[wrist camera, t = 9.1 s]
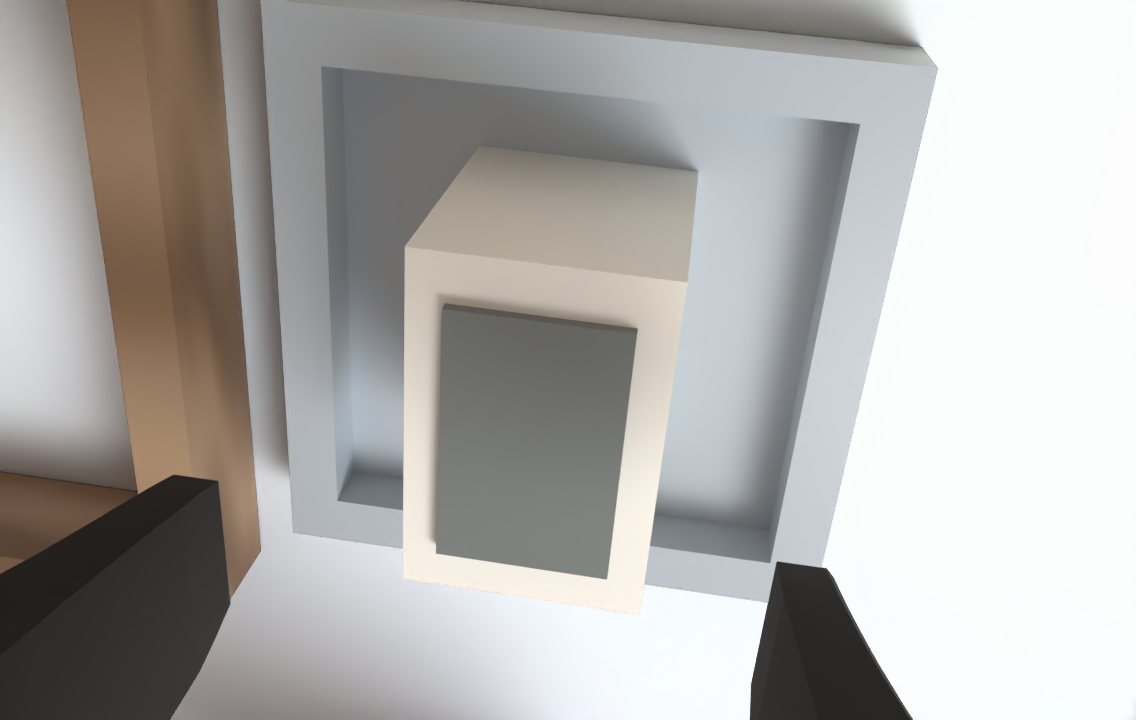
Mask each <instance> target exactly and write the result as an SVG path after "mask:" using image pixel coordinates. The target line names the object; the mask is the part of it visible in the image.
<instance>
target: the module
mask: <svg viewBox="0 0 1136 720" xmlns="http://www.w3.org/2000/svg"><path fill="white" fill-rule="evenodd" d="M697 182H698V172H697V171H688V170H680V169H672V168H663V167H655V166H646V165H638V164H629V163H621V162H613V161H604V160H596V159H587V158H579V157H570V156H562V155H554V154H545V153H537V152H528V151H520V150H511V149H503V148H495V147H486V146H479V147H478V148H477V150H476V151H475V152H474V154H473V155H472V156H471V158H470V159H469V160H468V162H467V163H466V164H465V166H464V167H463V169H462V170H461V171H460V173H459V174H458V175H457V177H456V178H455V179H454V181H453V182H452V183H451V185H450V186H449V187H448V189H447V190H446V192H445V193H444V194H443V196H442V197H441V198H440V200H439V201H438V202H437V204H436V205H435V206H434V208H433V209H432V210H431V212H430V213H429V215H428V216H427V217H426V219H425V220H424V221H423V223H422V224H421V225H420V227H419V228H418V229H417V231H416V232H415V233H414V235H413V236H412V238H411V239H410V240H409V242H408V243H407V244H406V246H405V300H404V465H403V579H408V580H415V581H421V582H428V583H434V584H441V585H447V586H453V587H460V588H466V589H473V590H479V591H486V592H492V593H499V594H505V595H512V596H518V597H525V598H531V599H537V600H544V601H550V602H557V603H563V604H570V605H576V606H583V607H589V608H596V609H602V610H609V611H615V612H622V613H628V614H634V615H640V610H641V603H642V596H643V589H644V583H645V576H646V569H647V562H648V555H649V548H650V541H651V534H652V527H653V520H654V513H655V506H656V499H657V492H658V485H659V478H660V471H661V464H662V457H663V450H664V443H665V436H666V429H667V422H668V415H669V408H670V401H671V394H672V387H673V380H674V373H675V366H676V359H677V352H678V345H679V338H680V331H681V324H682V317H683V310H684V304H685V297H686V290H687V283H688V273H689V263H690V252H691V242H692V232H693V222H694V212H695V202H696V192H697Z"/></svg>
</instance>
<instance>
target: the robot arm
mask: <svg viewBox="0 0 1136 720" xmlns="http://www.w3.org/2000/svg"><path fill="white" fill-rule="evenodd" d="M229 606H230V595H229V584H228V574H227V564H226V554H225V544H224V533H223V523H222V513H221V503H220V493H219V483H218V481H216V480H209V479H202V478H195V477H188V476H181V475H172V476H170V477H168V478H166V479H164V480H162V481H160V482H159V483H157V484H155V485H153V486H151V487H150V488H148V489H146V490H144V491H143V492H141V493H139V494H138V495H136V496H134V497H133V498H131V499H129V500H127V501H126V502H124V503H122V504H121V505H119V506H117V507H116V508H114V509H112V510H111V511H109V512H107V513H106V514H104V515H102V516H101V517H99V518H97V519H96V520H94V521H92V522H91V523H89V524H87V525H86V526H84V527H82V528H80V529H79V530H77V531H75V532H74V533H72V534H70V535H69V536H67V537H65V538H63V539H62V540H60V541H58V542H57V543H55V544H53V545H51V546H50V547H48V548H46V549H45V550H43V551H41V552H39V553H38V554H36V555H34V556H32V557H31V558H29V559H27V560H25V561H23V562H21V563H19V564H17V565H16V566H14V567H12V568H10V569H8V570H6V571H4V572H3V573H1V574H0V720H170V719H171V717H172V715H173V714H174V712H175V711H176V709H177V707H178V706H179V704H180V703H181V701H182V699H183V698H184V696H185V694H186V693H187V691H188V690H189V688H190V686H191V685H192V683H193V681H194V680H195V678H196V676H197V675H198V673H199V671H200V669H201V667H202V665H203V663H204V661H205V659H206V657H207V655H208V653H209V650H210V648H211V646H212V644H213V642H214V640H215V638H216V635H217V633H218V631H219V628H220V626H221V624H222V622H223V619H224V617H225V615H226V612H227V610H228V608H229ZM750 720H913V719H912V717H911V716H910V714H909V713H908V711H907V710H906V708H905V706H904V705H903V703H902V702H901V700H900V698H899V697H898V695H897V693H896V692H895V690H894V689H893V687H892V685H891V684H890V682H889V680H888V679H887V677H886V675H885V674H884V672H883V671H882V669H881V667H880V666H879V664H878V662H877V660H876V659H875V657H874V655H873V653H872V652H871V650H870V648H869V646H868V644H867V643H866V641H865V639H864V637H863V635H862V633H861V632H860V630H859V628H858V626H857V624H856V622H855V620H854V618H853V616H852V614H851V613H850V611H849V609H848V607H847V605H846V603H845V601H844V599H843V596H842V594H841V592H840V590H839V588H838V586H837V584H836V582H835V580H834V577H833V576H832V575H831V574H830V572H829V571H828V570H827V568H820V567H813V566H806V565H800V564H793V563H786V562H779V561H777V562H776V567H775V572H774V576H773V581H772V586H771V591H770V596H769V601H768V605H767V610H766V615H765V620H764V625H763V630H762V634H761V639H760V644H759V649H758V654H757V658H756V663H755V668H754V673H753V678H752V683H751V705H750Z"/></svg>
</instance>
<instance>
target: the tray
mask: <svg viewBox="0 0 1136 720" xmlns="http://www.w3.org/2000/svg"><path fill="white" fill-rule="evenodd" d="M260 2H261V18H262V34H263V50H264V67H265V83H266V99H267V115H268V131H269V147H270V164H271V180H272V196H273V212H274V228H275V244H276V261H277V277H278V293H279V309H280V325H281V341H282V358H283V374H284V390H285V406H286V422H287V438H288V455H289V471H290V487H291V503H292V519H293V533H299V534H306V535H313V536H320V537H327V538H333V539H340V540H347V541H354V542H361V543H367V544H374V545H381V546H388V547H394V548H401V549H403V465H404V300H405V246H406V244H407V243H408V242H409V240H410V239H411V238H412V236H413V235H414V233H415V232H416V231H417V229H418V228H419V227H420V225H421V224H422V223H423V221H424V220H425V219H426V217H427V216H428V215H429V213H430V212H431V210H432V209H433V208H434V206H435V205H436V204H437V202H438V201H439V200H440V198H441V197H442V196H443V194H444V193H445V192H446V190H447V189H448V187H449V186H450V185H451V183H452V182H453V181H454V179H455V178H456V177H457V175H458V174H459V173H460V171H461V170H462V169H463V167H464V166H465V164H466V163H467V162H468V160H469V159H470V158H471V156H472V155H473V154H474V152H475V151H476V150H477V148H478V147H479V146H486V147H495V148H503V149H511V150H520V151H528V152H537V153H545V154H554V155H562V156H570V157H579V158H587V159H596V160H604V161H613V162H621V163H629V164H638V165H646V166H655V167H663V168H672V169H680V170H688V171H697V172H698V182H697V192H696V202H695V212H694V222H693V232H692V242H691V252H690V263H689V273H688V283H687V290H686V297H685V304H684V310H683V317H682V324H681V331H680V338H679V345H678V352H677V359H676V366H675V373H674V380H673V387H672V394H671V401H670V408H669V415H668V422H667V429H666V436H665V443H664V450H663V457H662V464H661V471H660V478H659V485H658V492H657V499H656V506H655V513H654V520H653V527H652V534H651V541H650V548H649V555H648V562H647V569H646V576H645V583H644V584H646V585H652V586H659V587H666V588H673V589H680V590H686V591H693V592H700V593H707V594H713V595H720V596H727V597H734V598H741V599H747V600H754V601H761V602H768V601H769V596H770V591H771V586H772V581H773V576H774V572H775V567H776V562H777V561H779V562H786V563H793V564H800V565H806V566H813V567H820V568H821V566H822V562H823V558H824V553H825V549H826V545H827V541H828V536H829V532H830V528H831V524H832V519H833V515H834V511H835V506H836V502H837V498H838V494H839V489H840V485H841V481H842V476H843V472H844V468H845V464H846V459H847V455H848V451H849V447H850V442H851V438H852V434H853V429H854V425H855V421H856V417H857V412H858V408H859V404H860V399H861V395H862V391H863V387H864V382H865V378H866V374H867V369H868V365H869V361H870V357H871V352H872V348H873V344H874V340H875V335H876V331H877V327H878V322H879V318H880V314H881V310H882V305H883V301H884V297H885V292H886V288H887V284H888V280H889V275H890V271H891V267H892V263H893V258H894V254H895V250H896V245H897V241H898V237H899V233H900V228H901V224H902V220H903V215H904V211H905V207H906V203H907V198H908V194H909V190H910V185H911V181H912V177H913V173H914V168H915V164H916V160H917V156H918V151H919V147H920V143H921V138H922V134H923V130H924V126H925V121H926V117H927V113H928V108H929V104H930V100H931V96H932V91H933V87H934V83H935V78H936V74H937V70H938V68H937V66H936V65H935V64H934V62H933V61H932V60H931V58H930V57H929V56H928V54H927V53H926V52H925V50H924V49H923V48H922V47H915V46H905V45H895V44H885V43H875V42H865V41H855V40H845V39H835V38H825V37H815V36H806V35H796V34H786V33H776V32H766V31H756V30H746V29H736V28H726V27H716V26H706V25H696V24H686V23H676V22H666V21H656V20H647V19H637V18H627V17H617V16H607V15H597V14H587V13H577V12H567V11H557V10H547V9H537V8H527V7H517V6H507V5H498V4H488V3H478V2H468V1H458V0H260Z"/></svg>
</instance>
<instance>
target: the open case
mask: <svg viewBox="0 0 1136 720" xmlns="http://www.w3.org/2000/svg"><path fill="white" fill-rule="evenodd" d="M67 6H68V13H69V20H70V27H71V34H72V41H73V48H74V55H75V62H76V69H77V76H78V83H79V89H80V96H81V103H82V110H83V117H84V124H85V131H86V138H87V145H88V152H89V159H90V166H91V173H92V179H93V186H94V193H95V200H96V207H97V214H98V221H99V228H100V235H101V242H102V249H103V256H104V263H105V269H106V276H107V283H108V290H109V297H110V304H111V311H112V318H113V325H114V332H115V339H116V346H117V353H118V359H119V366H120V373H121V380H122V387H123V394H124V401H125V408H126V415H127V422H128V429H129V436H130V443H131V449H132V456H133V463H134V470H135V477H136V484H137V491H138V492H134V491H127V490H120V489H114V488H107V487H100V486H93V485H86V484H79V483H72V482H66V481H59V480H52V479H45V478H38V477H31V476H24V475H18V474H11V473H4V472H0V574H1V573H3V572H4V571H6V570H8V569H10V568H12V567H14V566H16V565H17V564H19V563H21V562H23V561H25V560H27V559H29V558H31V557H32V556H34V555H36V554H38V553H39V552H41V551H43V550H45V549H46V548H48V547H50V546H51V545H53V544H55V543H57V542H58V541H60V540H62V539H63V538H65V537H67V536H69V535H70V534H72V533H74V532H75V531H77V530H79V529H80V528H82V527H84V526H86V525H87V524H89V523H91V522H92V521H94V520H96V519H97V518H99V517H101V516H102V515H104V514H106V513H107V512H109V511H111V510H112V509H114V508H116V507H117V506H119V505H121V504H122V503H124V502H126V501H127V500H129V499H131V498H133V497H134V496H136V495H138V494H139V493H141V492H143V491H144V490H146V489H148V488H150V487H151V486H153V485H155V484H157V483H159V482H160V481H162V480H164V479H166V478H168V477H170V476H172V475H181V476H188V477H195V478H202V479H209V480H216V481H218V483H219V493H220V503H221V513H222V523H223V533H224V544H225V554H226V564H227V574H228V584H229V595H230V599H231V597H232V596H233V594H234V592H235V591H236V589H237V588H238V586H239V585H240V583H241V581H242V580H243V578H244V577H245V575H246V573H247V572H248V570H249V569H250V567H251V566H252V564H253V562H254V561H255V559H256V558H257V556H258V554H259V553H260V551H261V545H260V533H259V520H258V508H257V495H256V483H255V471H254V458H253V446H252V433H251V421H250V408H249V396H248V384H247V371H246V359H245V346H244V334H243V321H242V309H241V297H240V284H239V272H238V259H237V247H236V235H235V222H234V210H233V197H232V185H231V172H230V160H229V148H228V135H227V123H226V110H225V98H224V85H223V73H222V61H221V48H220V36H219V23H218V11H217V0H67Z"/></svg>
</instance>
